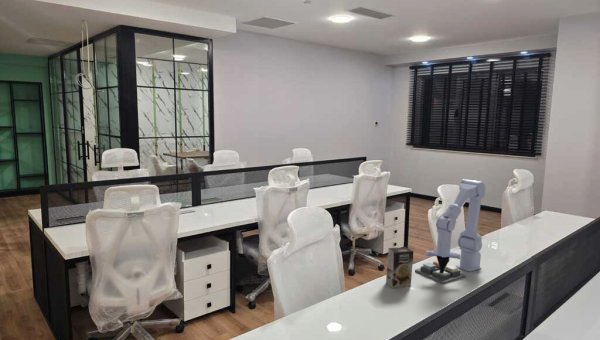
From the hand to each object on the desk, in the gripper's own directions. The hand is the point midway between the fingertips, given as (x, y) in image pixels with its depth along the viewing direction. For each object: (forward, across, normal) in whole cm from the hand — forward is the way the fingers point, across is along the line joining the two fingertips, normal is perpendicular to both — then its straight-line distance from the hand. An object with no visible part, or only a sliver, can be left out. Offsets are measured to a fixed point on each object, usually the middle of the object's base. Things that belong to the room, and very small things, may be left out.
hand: (441, 272), depth 186 cm
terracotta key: (+1, 0, +10) cm, 10 cm away
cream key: (+1, +5, +5) cm, 7 cm away
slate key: (+1, -5, +5) cm, 7 cm away
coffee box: (+3, -19, -13) cm, 23 cm away
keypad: (+3, 0, +5) cm, 6 cm away
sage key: (+2, 0, 0) cm, 2 cm away
